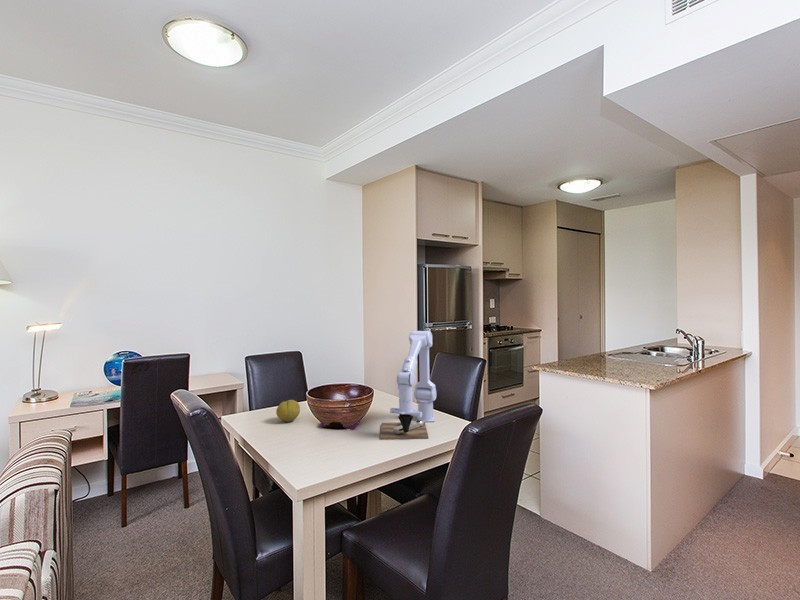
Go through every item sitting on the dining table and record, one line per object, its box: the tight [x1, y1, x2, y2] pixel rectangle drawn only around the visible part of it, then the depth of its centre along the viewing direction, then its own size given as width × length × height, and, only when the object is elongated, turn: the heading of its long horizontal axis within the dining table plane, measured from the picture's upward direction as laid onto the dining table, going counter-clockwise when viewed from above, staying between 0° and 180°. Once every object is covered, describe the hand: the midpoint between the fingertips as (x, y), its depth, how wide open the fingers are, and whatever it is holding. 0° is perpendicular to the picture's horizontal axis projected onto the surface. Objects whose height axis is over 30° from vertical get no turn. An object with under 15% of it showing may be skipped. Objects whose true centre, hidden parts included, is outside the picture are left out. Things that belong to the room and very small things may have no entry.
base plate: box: [380, 421, 429, 440], centre depth 182 cm, size 20×20×1 cm
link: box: [393, 419, 424, 434], centre depth 181 cm, size 17×4×2 cm, turn 136°
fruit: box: [275, 399, 301, 423], centre depth 198 cm, size 11×12×10 cm
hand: (406, 431), depth 175 cm, fingers closed
